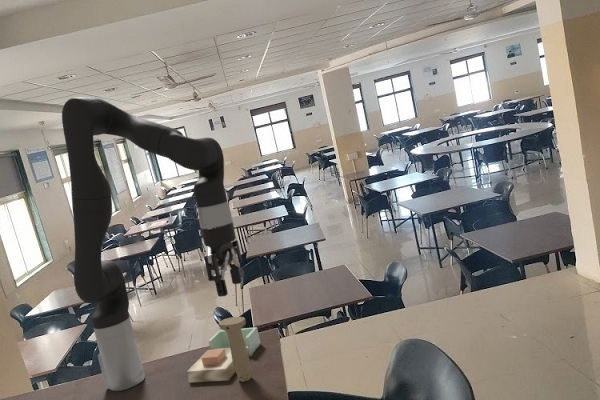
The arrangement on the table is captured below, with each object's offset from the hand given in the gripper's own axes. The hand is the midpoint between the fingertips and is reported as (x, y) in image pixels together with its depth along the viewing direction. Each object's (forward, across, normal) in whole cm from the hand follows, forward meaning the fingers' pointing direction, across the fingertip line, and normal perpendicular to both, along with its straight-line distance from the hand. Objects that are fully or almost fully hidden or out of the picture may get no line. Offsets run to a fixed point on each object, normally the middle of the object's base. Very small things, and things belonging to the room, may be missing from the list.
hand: (230, 289), depth 121 cm
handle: (+23, 0, -1) cm, 23 cm away
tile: (+20, -4, -11) cm, 23 cm away
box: (+23, -16, -10) cm, 30 cm away
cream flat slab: (+23, -6, -11) cm, 26 cm away
